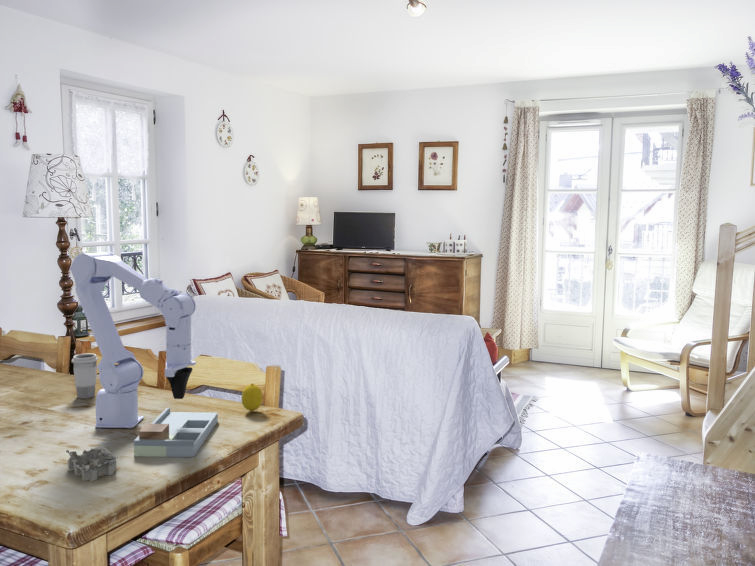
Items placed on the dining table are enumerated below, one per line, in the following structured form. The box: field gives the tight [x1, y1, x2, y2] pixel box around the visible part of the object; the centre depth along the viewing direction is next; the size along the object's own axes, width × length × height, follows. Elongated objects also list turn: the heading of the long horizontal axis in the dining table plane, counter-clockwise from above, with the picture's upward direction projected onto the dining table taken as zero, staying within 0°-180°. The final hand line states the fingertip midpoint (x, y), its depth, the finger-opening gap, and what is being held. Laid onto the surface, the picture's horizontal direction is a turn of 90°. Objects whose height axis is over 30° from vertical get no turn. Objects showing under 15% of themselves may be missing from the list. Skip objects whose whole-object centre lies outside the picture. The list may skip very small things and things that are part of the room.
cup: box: [71, 352, 99, 400], centre depth 174 cm, size 7×7×12 cm
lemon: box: [241, 383, 263, 413], centre depth 164 cm, size 6×6×8 cm
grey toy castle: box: [65, 446, 119, 481], centre depth 125 cm, size 11×8×4 cm
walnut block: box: [138, 423, 169, 440], centre depth 135 cm, size 5×5×3 cm
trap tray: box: [133, 406, 219, 458], centre depth 144 cm, size 13×23×4 cm, turn 2°
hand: (178, 398), depth 148 cm, fingers closed
